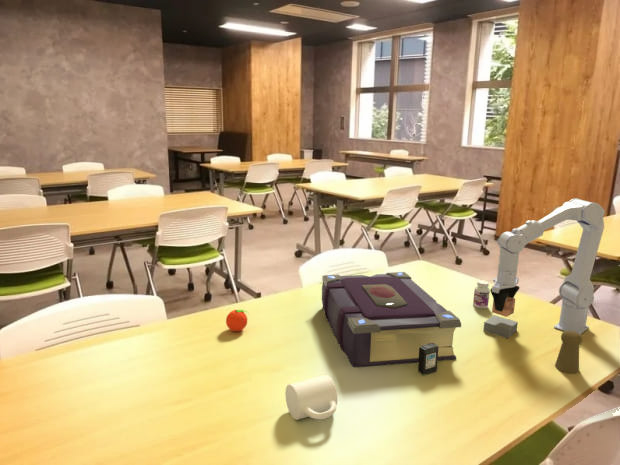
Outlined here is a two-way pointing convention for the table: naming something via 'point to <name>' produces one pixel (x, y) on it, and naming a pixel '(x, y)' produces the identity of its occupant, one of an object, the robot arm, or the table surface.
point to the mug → (312, 398)
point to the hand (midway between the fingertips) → (502, 308)
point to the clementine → (236, 320)
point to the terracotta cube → (506, 307)
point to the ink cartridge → (428, 358)
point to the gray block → (500, 326)
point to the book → (385, 319)
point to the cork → (569, 352)
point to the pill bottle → (481, 295)
